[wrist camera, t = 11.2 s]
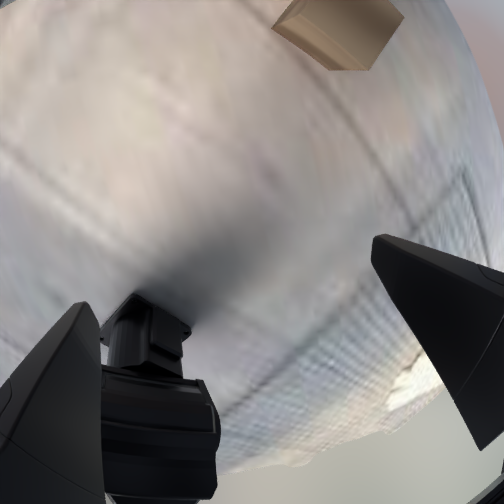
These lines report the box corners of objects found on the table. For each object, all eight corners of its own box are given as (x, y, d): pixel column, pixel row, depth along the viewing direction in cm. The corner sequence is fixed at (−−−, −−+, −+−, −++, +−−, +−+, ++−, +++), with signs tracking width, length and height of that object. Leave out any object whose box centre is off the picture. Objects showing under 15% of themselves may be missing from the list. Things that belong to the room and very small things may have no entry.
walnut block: (328, 70, 18) (368, 70, 14) (270, 28, 16) (299, 13, 12) (361, 24, 17) (404, 17, 12) (308, -18, 14) (344, -39, 10)
